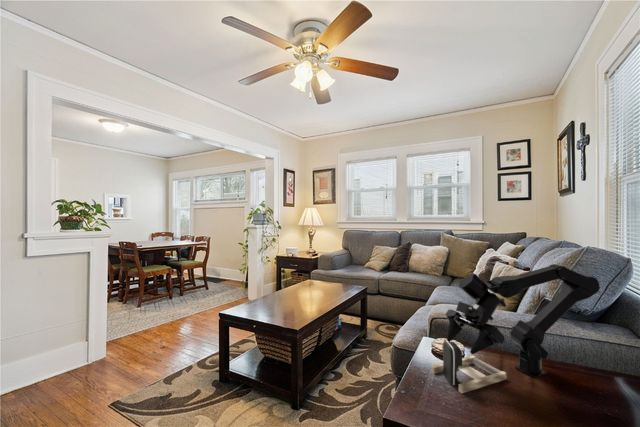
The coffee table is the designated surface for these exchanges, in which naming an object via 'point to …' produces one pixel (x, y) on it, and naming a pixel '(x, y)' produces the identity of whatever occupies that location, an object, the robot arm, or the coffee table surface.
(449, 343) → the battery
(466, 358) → the guide channel
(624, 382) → the coffee table surface
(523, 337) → the robot arm
